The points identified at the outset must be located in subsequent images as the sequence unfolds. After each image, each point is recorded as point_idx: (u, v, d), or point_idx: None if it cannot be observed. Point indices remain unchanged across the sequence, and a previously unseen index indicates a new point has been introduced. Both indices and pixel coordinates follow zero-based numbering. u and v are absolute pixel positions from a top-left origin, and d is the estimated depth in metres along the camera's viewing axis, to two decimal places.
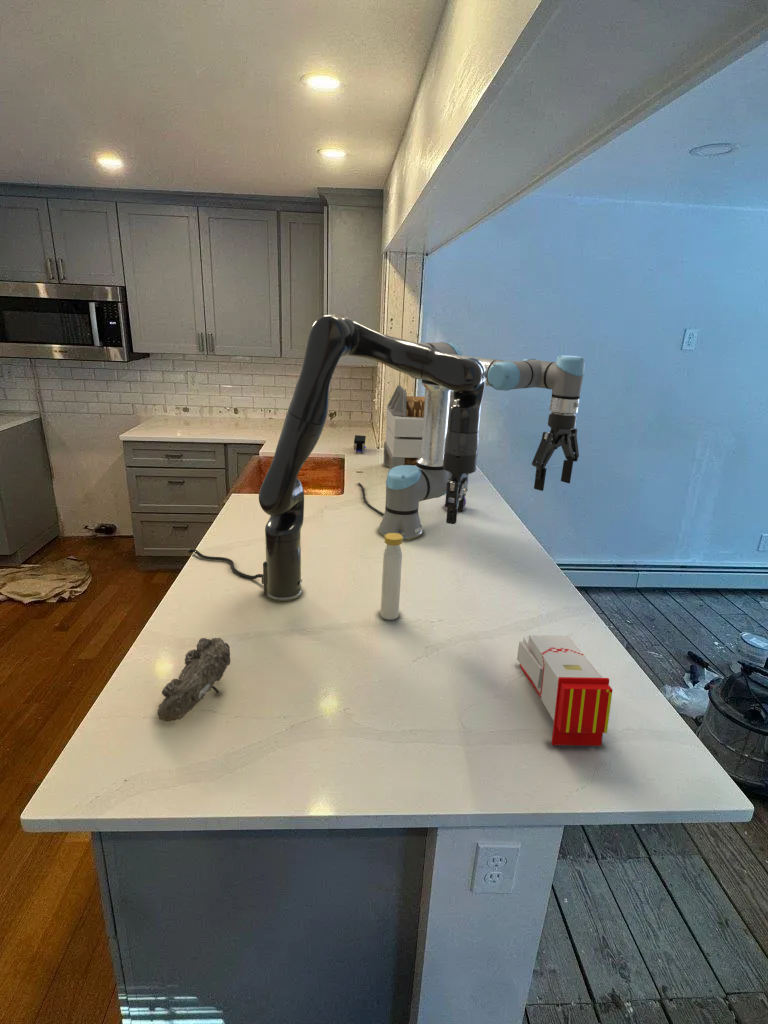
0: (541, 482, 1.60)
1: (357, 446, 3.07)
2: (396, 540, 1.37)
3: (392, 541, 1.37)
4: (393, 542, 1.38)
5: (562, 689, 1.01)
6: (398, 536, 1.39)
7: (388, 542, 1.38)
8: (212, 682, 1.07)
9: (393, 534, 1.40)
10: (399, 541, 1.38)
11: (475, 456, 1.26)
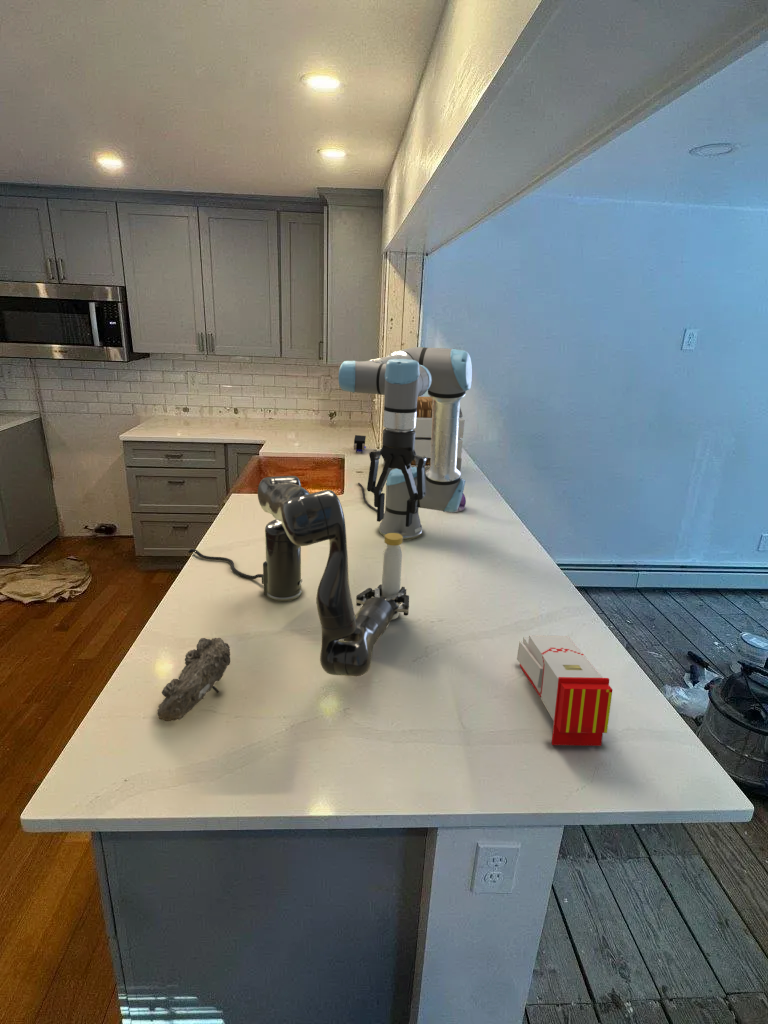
0: (412, 514, 1.37)
1: (357, 446, 3.07)
2: (396, 540, 1.37)
3: (392, 541, 1.37)
4: (393, 542, 1.38)
5: (562, 689, 1.01)
6: (398, 536, 1.39)
7: (388, 542, 1.38)
8: (212, 682, 1.07)
9: (393, 534, 1.40)
10: (399, 541, 1.38)
11: None
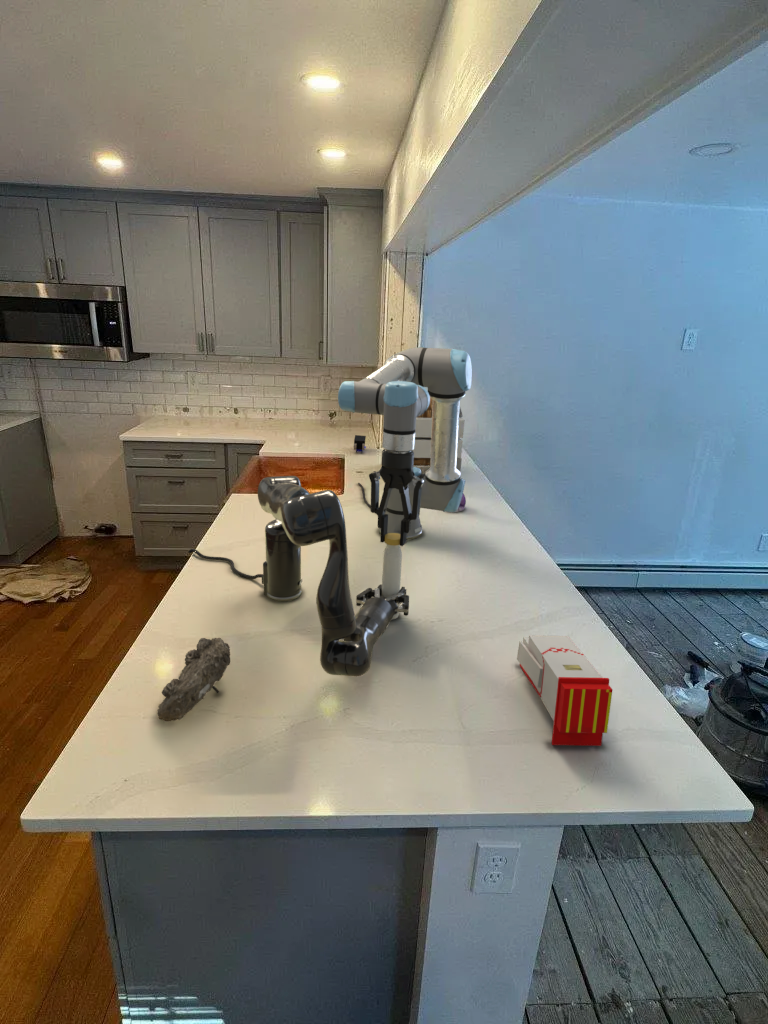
0: (406, 534, 1.39)
1: (357, 446, 3.07)
2: (396, 540, 1.37)
3: (392, 541, 1.37)
4: (393, 542, 1.38)
5: (562, 689, 1.01)
6: (398, 536, 1.39)
7: (388, 542, 1.38)
8: (212, 682, 1.07)
9: (393, 534, 1.40)
10: (399, 541, 1.38)
11: None
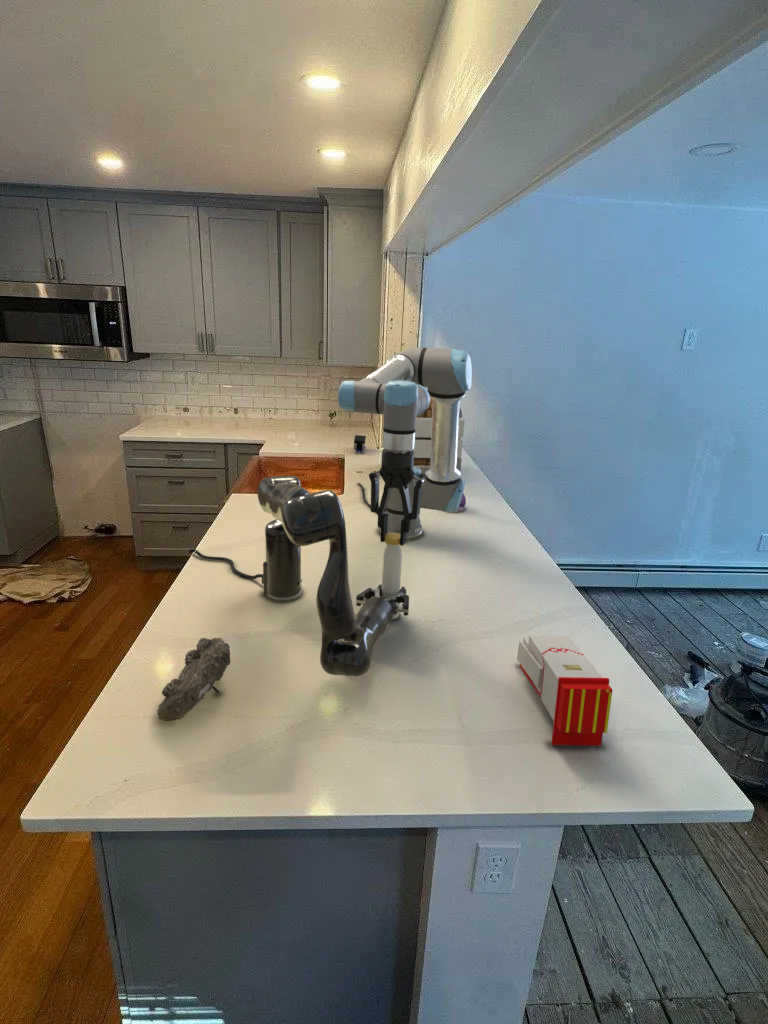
0: (406, 533, 1.39)
1: (357, 446, 3.07)
2: None
3: None
4: None
5: (562, 689, 1.01)
6: (392, 534, 1.40)
7: None
8: (212, 682, 1.07)
9: (388, 536, 1.39)
10: None
11: None
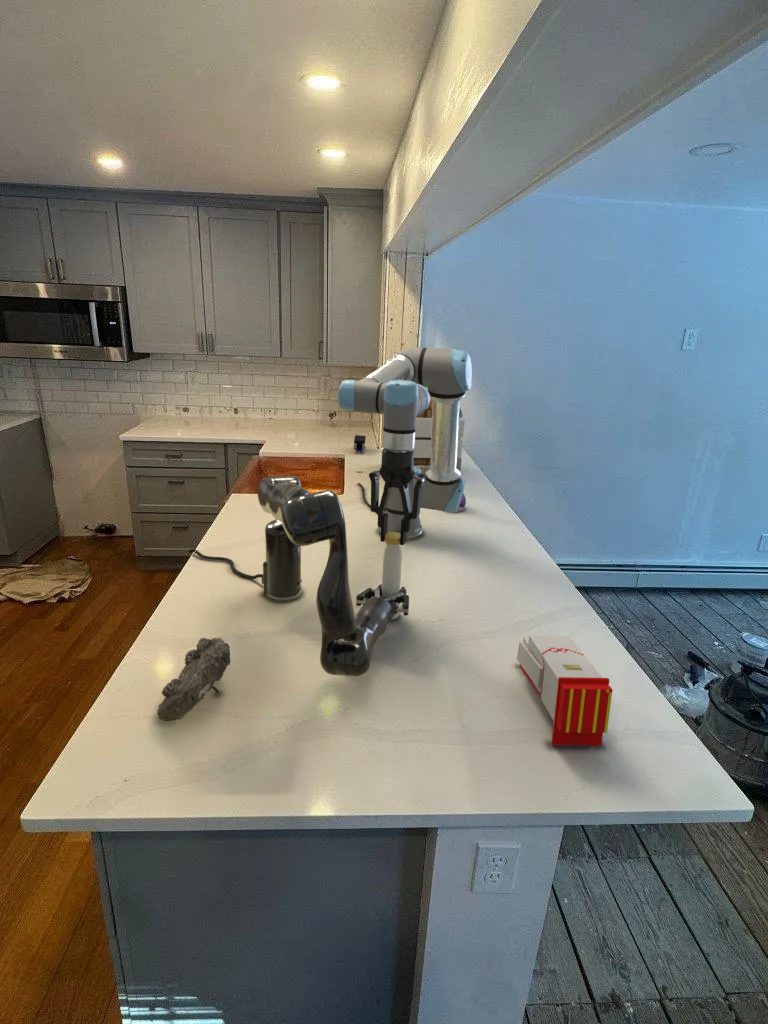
0: (406, 533, 1.39)
1: (357, 446, 3.07)
2: None
3: None
4: None
5: (562, 689, 1.01)
6: (389, 535, 1.39)
7: None
8: (212, 682, 1.07)
9: (395, 537, 1.38)
10: None
11: None
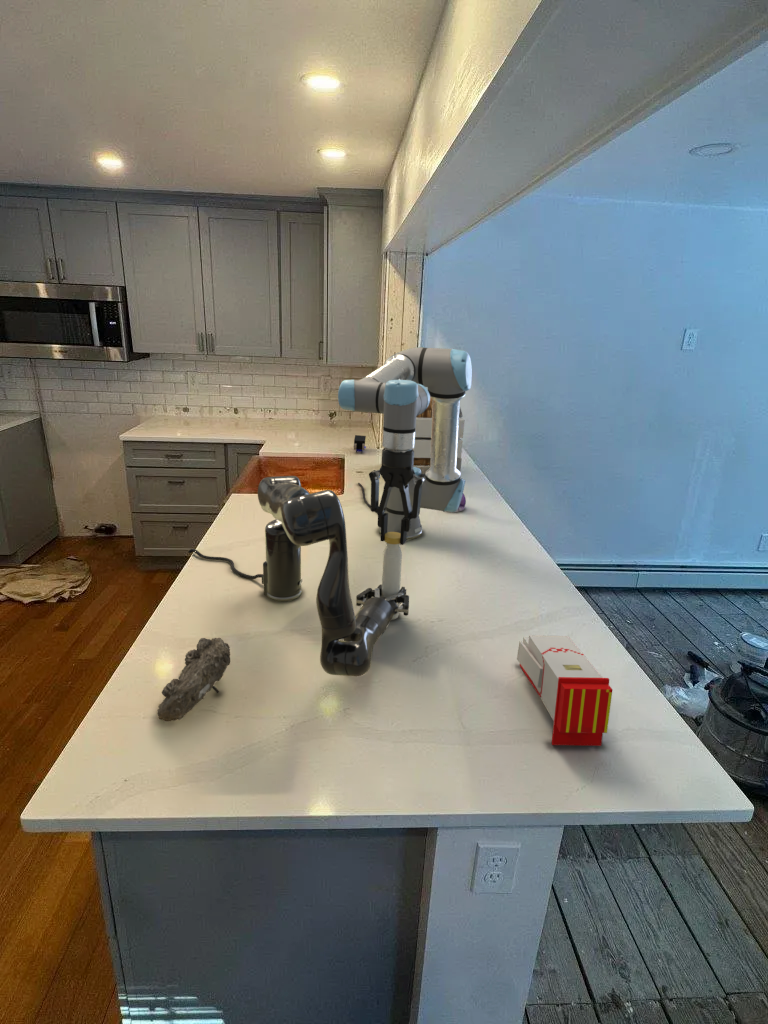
0: (406, 532, 1.39)
1: (357, 446, 3.07)
2: (387, 538, 1.38)
3: (385, 538, 1.38)
4: (386, 539, 1.38)
5: (562, 689, 1.01)
6: (396, 536, 1.38)
7: None
8: (212, 682, 1.07)
9: (397, 534, 1.40)
10: (390, 540, 1.37)
11: None
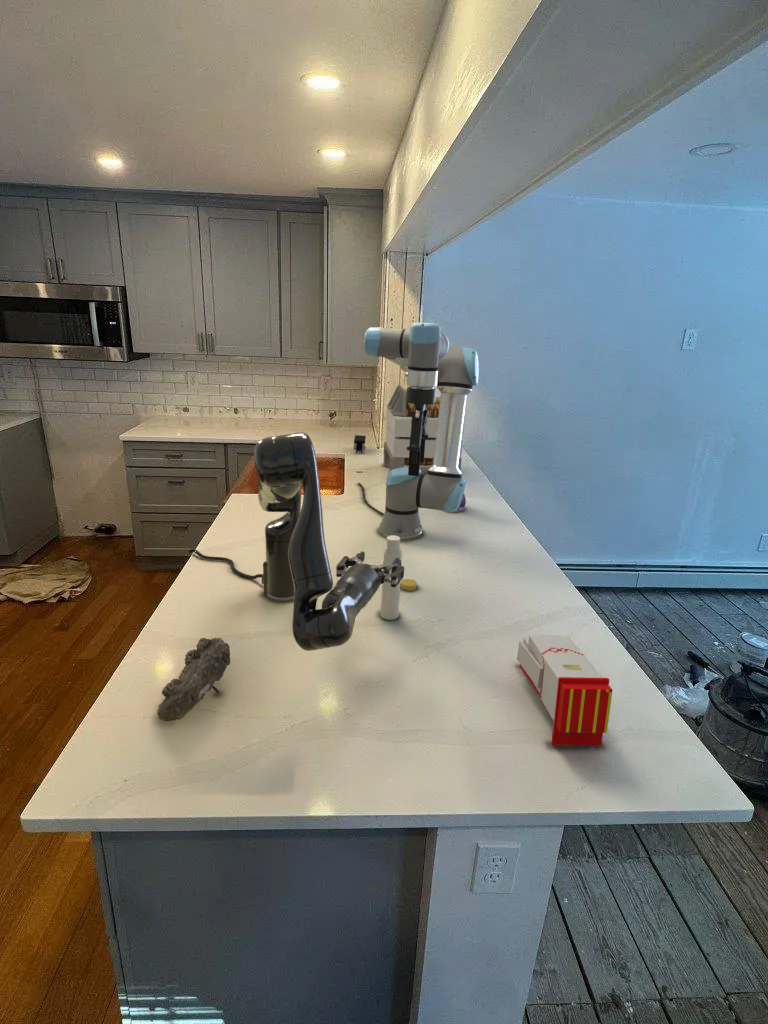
0: None
1: (357, 446, 3.07)
2: (415, 585, 1.61)
3: (413, 586, 1.60)
4: (414, 587, 1.60)
5: (562, 689, 1.01)
6: (411, 581, 1.62)
7: (410, 588, 1.60)
8: (212, 682, 1.07)
9: (405, 580, 1.62)
10: (416, 584, 1.62)
11: None
